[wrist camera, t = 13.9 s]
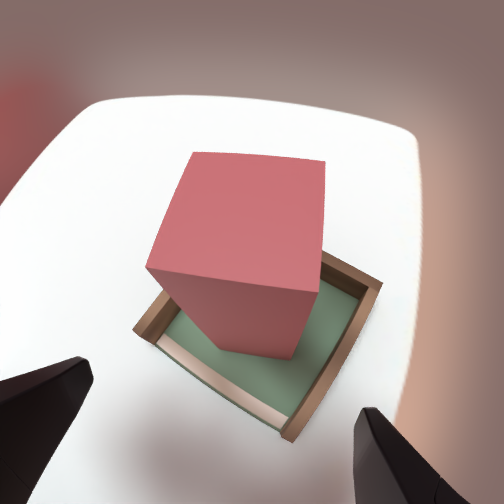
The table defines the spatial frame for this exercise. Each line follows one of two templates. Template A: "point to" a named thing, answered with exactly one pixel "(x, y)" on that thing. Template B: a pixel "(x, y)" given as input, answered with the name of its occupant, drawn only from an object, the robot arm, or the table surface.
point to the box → (269, 369)
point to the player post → (244, 249)
